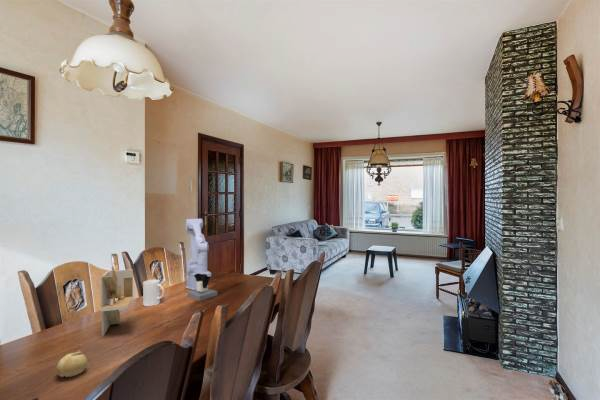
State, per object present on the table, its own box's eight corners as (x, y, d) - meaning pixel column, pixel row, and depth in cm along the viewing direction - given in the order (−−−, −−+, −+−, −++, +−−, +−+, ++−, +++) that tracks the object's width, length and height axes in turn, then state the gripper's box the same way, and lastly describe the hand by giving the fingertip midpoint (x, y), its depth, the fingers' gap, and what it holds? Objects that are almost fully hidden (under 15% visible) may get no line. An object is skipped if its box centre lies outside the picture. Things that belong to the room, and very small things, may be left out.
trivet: (187, 296, 178) (187, 292, 178) (205, 291, 187) (205, 287, 187) (199, 300, 170) (199, 296, 170) (217, 295, 180) (217, 291, 180)
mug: (168, 302, 168) (168, 280, 168) (156, 307, 160) (156, 284, 160) (151, 300, 171) (151, 278, 171) (138, 305, 163) (138, 282, 163)
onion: (66, 383, 93) (66, 360, 93) (50, 378, 96) (50, 355, 96) (93, 370, 101) (93, 348, 101) (77, 365, 104) (76, 344, 104)
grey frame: (133, 322, 142) (133, 259, 142) (127, 336, 126) (127, 266, 126) (109, 325, 138) (108, 260, 138) (99, 340, 123) (99, 268, 123)
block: (196, 290, 178) (196, 281, 178) (203, 288, 182) (203, 280, 182) (200, 291, 175) (200, 283, 175) (207, 290, 179) (207, 281, 179)
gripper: (189, 263, 180) (189, 286, 180) (203, 266, 171) (203, 290, 171) (199, 261, 186) (199, 283, 186) (214, 264, 177) (214, 287, 177)
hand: (202, 287), depth 179 cm, fingers closed on block, 4 cm apart
